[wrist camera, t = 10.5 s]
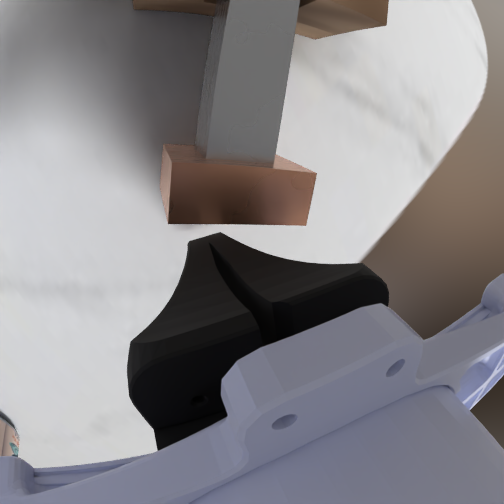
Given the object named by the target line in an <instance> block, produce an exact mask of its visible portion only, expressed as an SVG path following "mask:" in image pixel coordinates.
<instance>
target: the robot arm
mask: <svg viewBox="0 0 504 504" xmlns="http://www.w3.org/2000/svg"><path fill="white" fill-rule="evenodd" d="M187 246H188V251H187V258H186V262H185V266H184V269H183V272H182V275H181V278H180V280H179V283H178V285H177V287H176V289H175V291H174V293H173V295H172V297H171V299H170V300H169V302H168V303H167V305H166V306H165V308H164V309H163V310H162V311H161V313H160V314H159V315H158V316H157V317H156V318H155V320H154V321H153V322H152V323H151V324H150V325H149V326H148V327H147V328H146V329H145V330H143V331H142V332H141V333H140V334H139V335H138V336H137V337H135V338H134V339H133V340H132V341H131V342H130V348H129V355H128V364H127V377H128V388H129V397H130V399H131V401H132V403H133V405H134V406H135V407H136V409H137V410H138V411H139V412H140V414H141V415H142V416H143V417H144V418H145V420H146V421H147V422H148V423H149V425H150V426H151V427H152V428H153V429H154V433H155V439H156V444H157V449H158V451H157V452H154V453H151V454H146V455H141V456H136V457H131V458H125V459H120V460H113V461H107V462H100V463H92V464H84V465H75V466H64V467H50V468H33V467H32V466H31V465H30V464H29V463H27V462H26V461H24V460H23V459H21V458H18V457H15V456H0V504H504V449H503V448H502V447H501V446H500V445H499V444H498V442H497V441H496V440H495V439H494V438H493V437H492V435H491V434H490V433H489V432H488V431H487V430H486V429H485V427H484V426H483V425H482V424H481V423H480V422H479V421H478V420H477V418H476V417H475V416H474V415H473V414H472V413H471V412H470V411H469V410H470V409H471V408H472V407H473V406H474V405H475V404H476V403H477V402H478V401H479V400H480V399H481V398H482V397H483V396H484V395H485V394H486V393H487V392H488V391H489V390H490V389H491V388H492V387H493V386H494V385H495V383H497V381H498V380H499V379H500V378H501V377H502V376H503V375H504V274H501V275H500V276H498V277H497V278H496V279H495V280H493V281H492V282H490V283H489V284H488V286H487V287H486V289H485V291H484V293H483V296H482V300H481V303H480V304H479V305H478V306H477V307H476V308H474V309H472V310H471V311H470V312H468V313H467V314H466V315H464V316H463V317H461V318H460V319H459V320H457V321H456V322H454V323H453V324H451V325H450V326H448V327H447V328H445V329H444V330H442V331H441V332H439V333H438V334H436V335H435V336H433V337H432V338H429V339H426V340H423V339H422V338H421V337H420V336H419V335H418V334H417V333H416V332H415V331H414V330H413V329H412V328H411V327H410V326H409V325H408V324H407V323H406V322H405V321H403V320H402V319H401V318H400V317H399V316H398V315H397V314H396V313H395V312H394V311H393V310H392V309H390V308H388V303H389V291H388V288H387V285H386V283H385V282H384V281H383V280H382V279H381V278H380V277H379V276H377V275H376V274H375V273H374V272H373V271H371V270H370V269H369V268H368V267H367V266H365V265H364V264H363V263H355V264H317V263H307V262H300V261H294V260H289V259H284V258H280V257H277V256H273V255H270V254H266V253H264V252H261V251H258V250H256V249H253V248H251V247H249V246H246V245H244V244H242V243H240V242H238V241H236V240H234V239H232V238H230V237H228V236H227V235H225V234H223V233H221V232H219V233H216V234H212V235H209V236H206V237H202V238H199V239H196V240H192V241H189V243H188V245H187Z"/></svg>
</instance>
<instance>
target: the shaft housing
mask: <svg viewBox="0 0 504 504" xmlns="http://www.w3.org/2000/svg"><path fill="white" fill-rule="evenodd" d="M388 2H389V0H300V3H299V10H298V16H297V23H296V29H295V34H299V35H302V36H306V37H309V38H312V39H319V38H323V37H328V36H332V35H337V34H341V33H346V32H351V31H356V30H362V29H368V28H374V27H380V26H386V24H387V14H388ZM216 4H217V0H133V7H134V10H158V11H173V12H184V13H193V14H202V15H209V16H214V14H215V9H216Z"/></svg>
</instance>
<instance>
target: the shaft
mask: <svg viewBox="0 0 504 504" xmlns="http://www.w3.org/2000/svg"><path fill="white" fill-rule="evenodd" d="M299 3H300V0H217V4H216V9H215V14H214V20H213V25H212V31H211V36H210V42H209V48H208V54H207V60H206V66H205V73H204V80H203V86H202V93H201V101H200V108H199V116H198V124H197V132H196V141H195V145H178V144H163V153H162V165H161V180H160V190H161V195H162V199H163V204H164V208H165V213H166V217H167V222H168V224H254V225H303V226H306V223H307V219H308V214H309V209H310V205H311V200H312V195H313V190H314V185H315V180H316V175H317V173H315V172H313V171H311V170H309V169H307V168H304V167H302V166H300V165H298V164H296V163H294V162H291V161H289V160H287V159H285V158H283V157H280V156H278V155H276V148H277V142H278V136H279V129H280V123H281V117H282V111H283V105H284V98H285V92H286V86H287V80H288V74H289V67H290V61H291V55H292V48H293V42H294V36H295V29H296V23H297V16H298V10H299Z"/></svg>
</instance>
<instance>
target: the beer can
mask: <svg viewBox="0 0 504 504" xmlns="http://www.w3.org/2000/svg"><path fill="white" fill-rule="evenodd" d="M18 449H19V435H18V433H17V431H16V430H15V429H14V428H13V427H12V426H11V425H10V424H9V423H8V422H7V421H6V420H5V419H4V418H2V417H1V416H0V456H15V457H18Z"/></svg>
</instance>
